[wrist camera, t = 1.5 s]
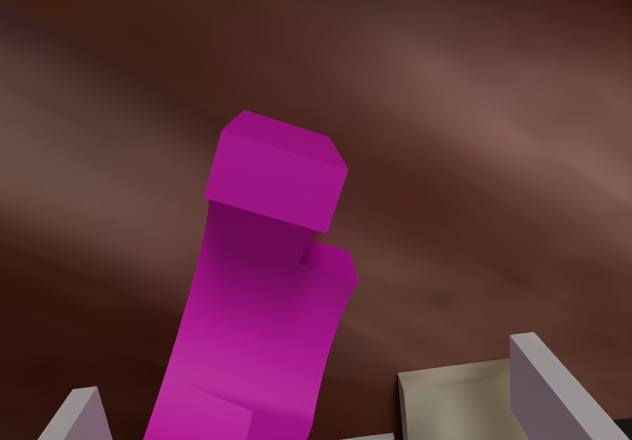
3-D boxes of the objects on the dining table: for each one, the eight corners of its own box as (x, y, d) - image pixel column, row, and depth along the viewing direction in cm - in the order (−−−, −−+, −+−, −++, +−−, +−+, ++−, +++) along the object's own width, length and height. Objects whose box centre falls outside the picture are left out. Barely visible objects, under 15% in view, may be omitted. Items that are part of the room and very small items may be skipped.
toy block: (284, 430, 26) (282, 568, 19) (163, 402, 25) (114, 535, 18) (382, 153, 22) (428, 194, 15) (244, 109, 21) (221, 130, 14)
